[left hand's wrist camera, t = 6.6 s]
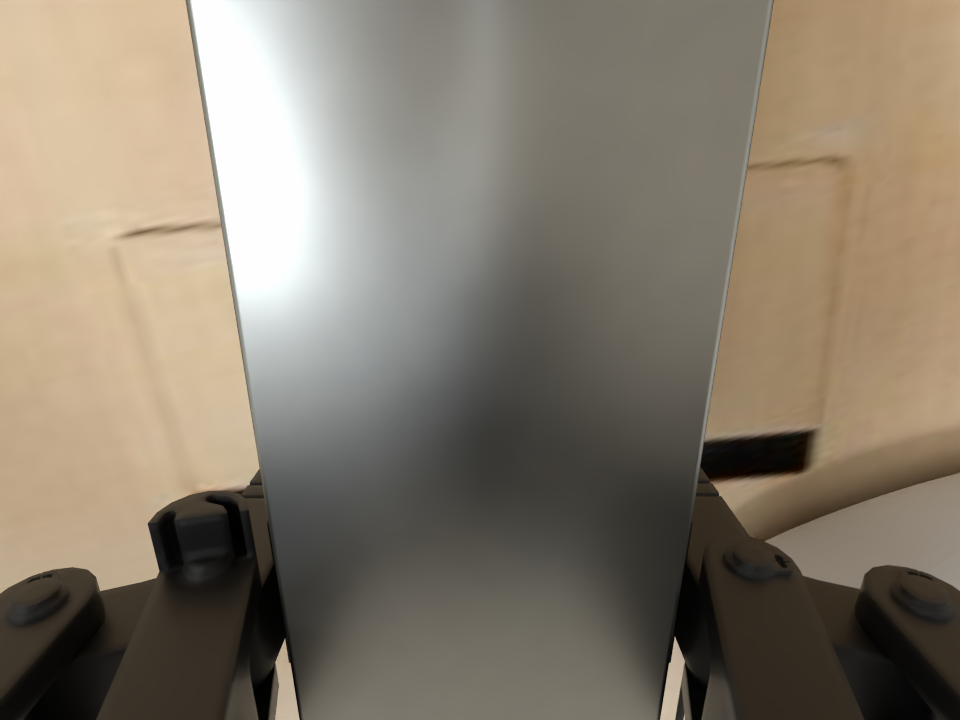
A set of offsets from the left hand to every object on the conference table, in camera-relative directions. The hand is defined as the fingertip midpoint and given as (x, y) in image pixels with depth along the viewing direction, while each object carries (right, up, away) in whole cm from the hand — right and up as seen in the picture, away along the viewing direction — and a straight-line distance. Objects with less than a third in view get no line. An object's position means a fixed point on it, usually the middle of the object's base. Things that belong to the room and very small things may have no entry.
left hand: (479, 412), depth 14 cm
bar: (0, +8, -2) cm, 9 cm away
